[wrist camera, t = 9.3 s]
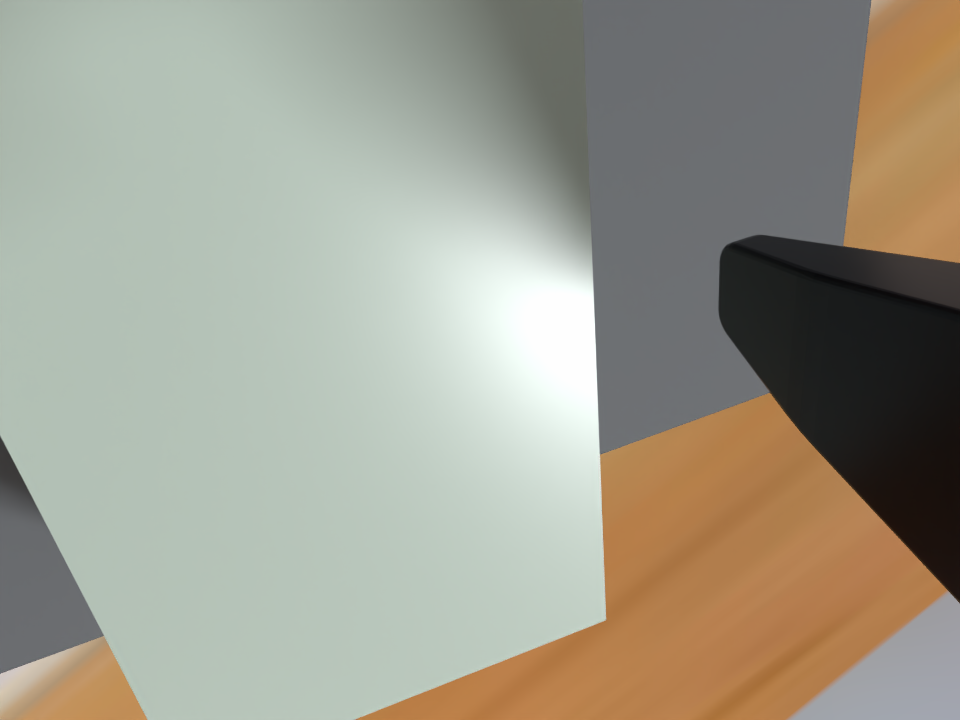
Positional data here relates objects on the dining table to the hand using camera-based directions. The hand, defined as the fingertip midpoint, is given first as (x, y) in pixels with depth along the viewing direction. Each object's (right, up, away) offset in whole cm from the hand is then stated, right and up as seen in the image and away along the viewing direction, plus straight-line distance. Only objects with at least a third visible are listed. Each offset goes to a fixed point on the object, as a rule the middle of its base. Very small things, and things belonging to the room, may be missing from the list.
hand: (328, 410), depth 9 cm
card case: (-1, +2, +3) cm, 4 cm away
